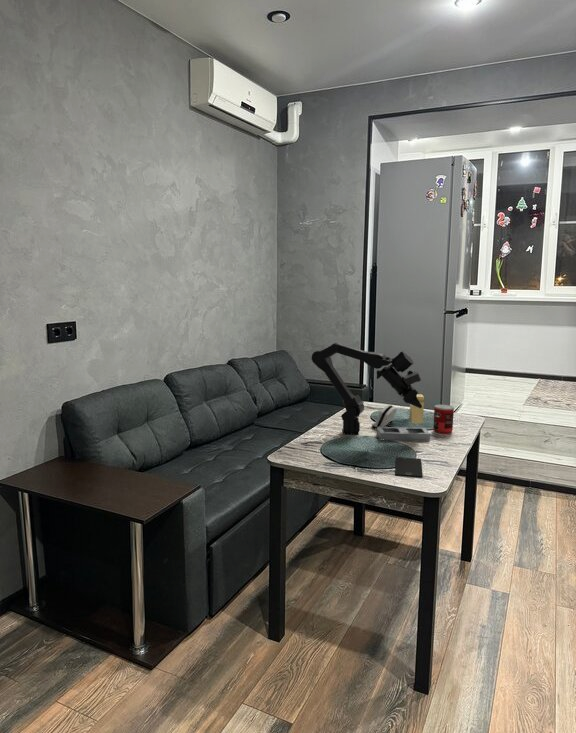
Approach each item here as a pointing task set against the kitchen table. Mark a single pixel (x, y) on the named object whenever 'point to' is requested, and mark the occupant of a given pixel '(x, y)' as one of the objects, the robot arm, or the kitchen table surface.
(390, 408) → the game console
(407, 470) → the cell phone
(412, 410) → the tan tall block
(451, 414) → the canned food
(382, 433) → the grey cinder block
